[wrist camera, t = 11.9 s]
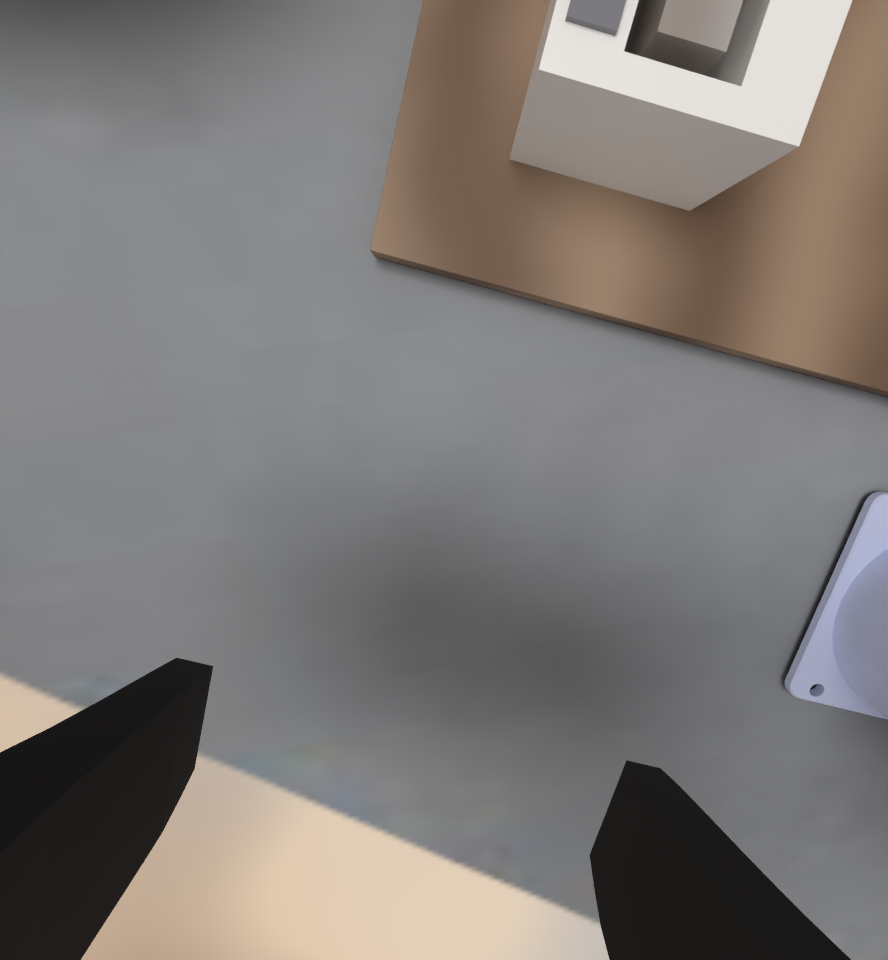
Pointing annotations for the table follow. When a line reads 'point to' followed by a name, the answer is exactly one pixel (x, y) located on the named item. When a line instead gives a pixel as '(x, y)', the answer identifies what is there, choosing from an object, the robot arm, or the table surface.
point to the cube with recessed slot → (673, 99)
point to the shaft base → (646, 223)
